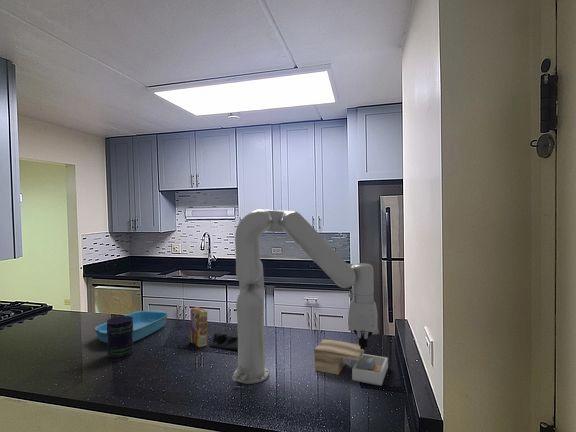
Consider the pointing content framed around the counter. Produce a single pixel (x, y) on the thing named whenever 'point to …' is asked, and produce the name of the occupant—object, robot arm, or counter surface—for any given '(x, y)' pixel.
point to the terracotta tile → (375, 368)
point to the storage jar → (120, 337)
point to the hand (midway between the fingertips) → (363, 348)
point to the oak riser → (335, 355)
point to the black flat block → (225, 341)
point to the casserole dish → (138, 324)
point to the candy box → (199, 327)
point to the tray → (371, 376)
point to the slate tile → (366, 363)
